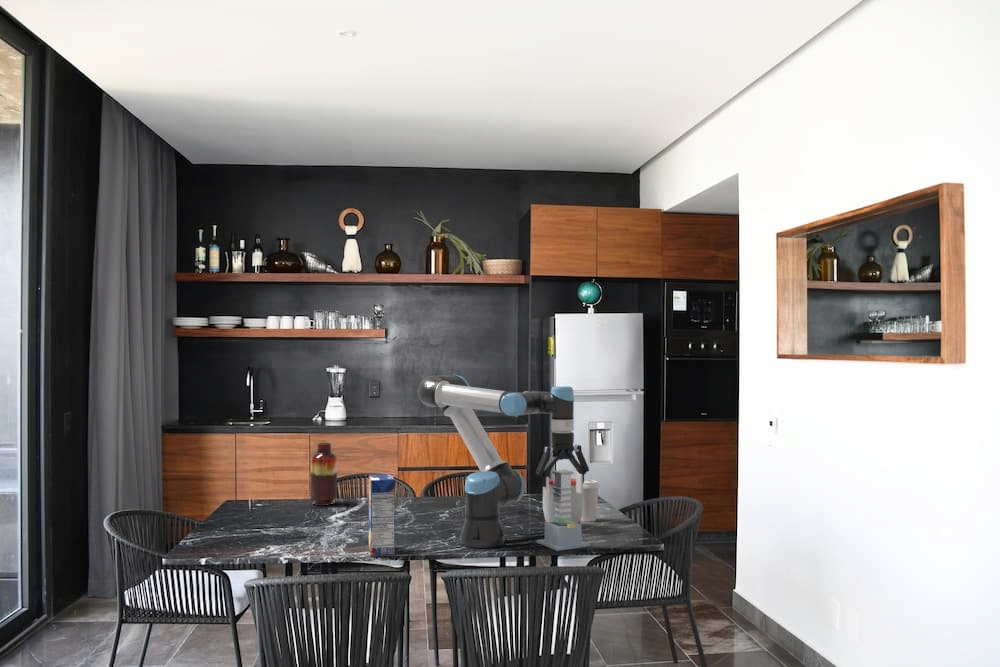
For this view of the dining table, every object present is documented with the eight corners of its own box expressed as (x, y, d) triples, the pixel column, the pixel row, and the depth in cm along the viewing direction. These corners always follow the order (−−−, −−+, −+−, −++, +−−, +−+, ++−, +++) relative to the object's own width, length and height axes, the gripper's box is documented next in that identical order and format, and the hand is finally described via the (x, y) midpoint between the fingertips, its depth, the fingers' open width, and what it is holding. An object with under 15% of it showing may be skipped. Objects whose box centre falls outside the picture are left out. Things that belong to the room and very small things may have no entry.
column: (560, 526, 257) (560, 472, 258) (552, 523, 262) (552, 470, 263) (573, 524, 260) (573, 471, 260) (565, 521, 265) (564, 469, 265)
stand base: (557, 550, 252) (557, 526, 252) (536, 542, 263) (536, 519, 264) (589, 546, 258) (589, 522, 258) (568, 538, 270) (568, 515, 270)
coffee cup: (599, 523, 294) (598, 483, 295) (574, 522, 296) (573, 482, 296) (600, 517, 303) (600, 479, 304) (576, 516, 305) (576, 478, 306)
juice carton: (368, 547, 257) (368, 474, 257) (391, 545, 258) (391, 474, 259) (371, 556, 245) (371, 480, 246) (394, 554, 247) (394, 479, 247)
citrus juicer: (576, 520, 298) (576, 468, 299) (589, 530, 281) (589, 475, 282) (536, 522, 295) (536, 470, 296) (547, 532, 278) (547, 476, 279)
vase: (328, 500, 340) (328, 441, 340) (341, 504, 331) (342, 443, 332) (305, 503, 332) (306, 443, 333) (318, 507, 324) (319, 445, 325)
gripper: (537, 434, 253) (537, 499, 252) (599, 431, 265) (599, 493, 264) (525, 432, 259) (525, 496, 259) (586, 429, 271) (586, 489, 271)
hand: (562, 494), depth 261 cm, fingers open, 13 cm apart
